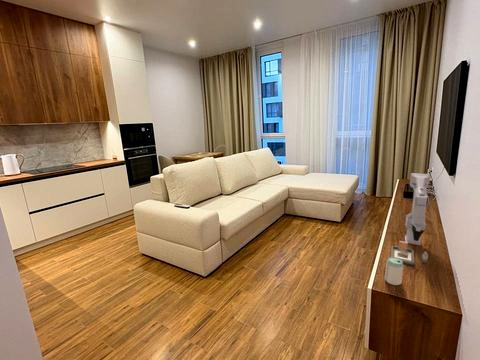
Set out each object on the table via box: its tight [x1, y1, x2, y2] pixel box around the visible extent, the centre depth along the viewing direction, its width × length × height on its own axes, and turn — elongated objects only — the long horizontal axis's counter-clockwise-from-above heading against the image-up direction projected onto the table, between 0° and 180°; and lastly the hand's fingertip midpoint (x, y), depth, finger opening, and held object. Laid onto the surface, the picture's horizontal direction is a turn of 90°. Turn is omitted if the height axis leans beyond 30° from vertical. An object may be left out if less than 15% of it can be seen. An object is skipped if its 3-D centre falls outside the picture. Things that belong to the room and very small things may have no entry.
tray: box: [390, 245, 416, 266], centre depth 147 cm, size 16×11×2 cm
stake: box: [421, 251, 429, 264], centre depth 140 cm, size 4×2×6 cm, turn 149°
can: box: [384, 256, 404, 286], centre depth 125 cm, size 7×7×12 cm
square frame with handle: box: [394, 240, 411, 262], centre depth 146 cm, size 12×8×6 cm
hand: (415, 237), depth 148 cm, fingers open, 7 cm apart
